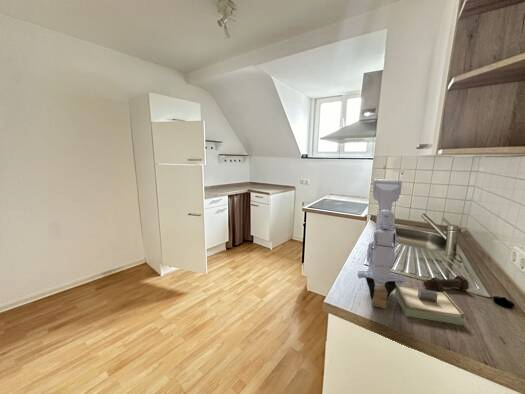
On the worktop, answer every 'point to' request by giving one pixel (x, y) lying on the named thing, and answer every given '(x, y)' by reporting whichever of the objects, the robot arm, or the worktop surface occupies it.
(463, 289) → the bolt
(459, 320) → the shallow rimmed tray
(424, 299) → the lid
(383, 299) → the block
